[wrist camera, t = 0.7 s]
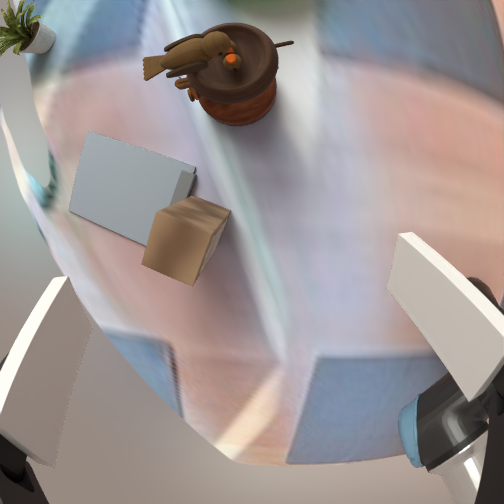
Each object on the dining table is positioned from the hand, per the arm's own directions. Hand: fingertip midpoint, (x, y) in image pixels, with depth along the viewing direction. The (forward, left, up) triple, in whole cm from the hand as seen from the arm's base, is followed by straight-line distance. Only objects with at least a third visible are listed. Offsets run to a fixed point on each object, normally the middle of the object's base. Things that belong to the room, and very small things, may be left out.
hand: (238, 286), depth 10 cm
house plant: (+50, -15, -31) cm, 61 cm away
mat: (+19, +7, -31) cm, 37 cm away
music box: (+8, -13, -31) cm, 35 cm away
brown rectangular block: (+6, +7, -31) cm, 32 cm away
